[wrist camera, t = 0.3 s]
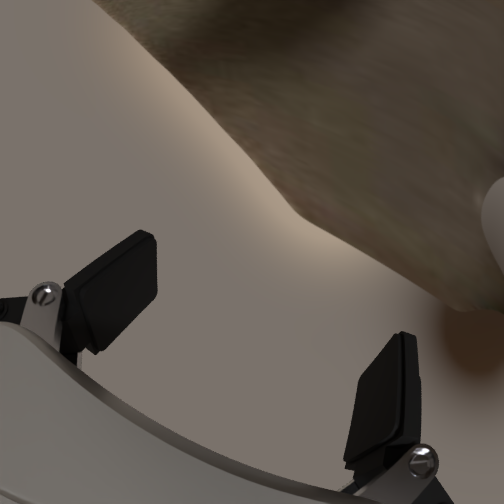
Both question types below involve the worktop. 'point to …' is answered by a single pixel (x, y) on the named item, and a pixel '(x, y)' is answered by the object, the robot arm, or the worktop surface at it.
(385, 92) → the worktop surface
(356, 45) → the worktop surface
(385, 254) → the worktop surface
